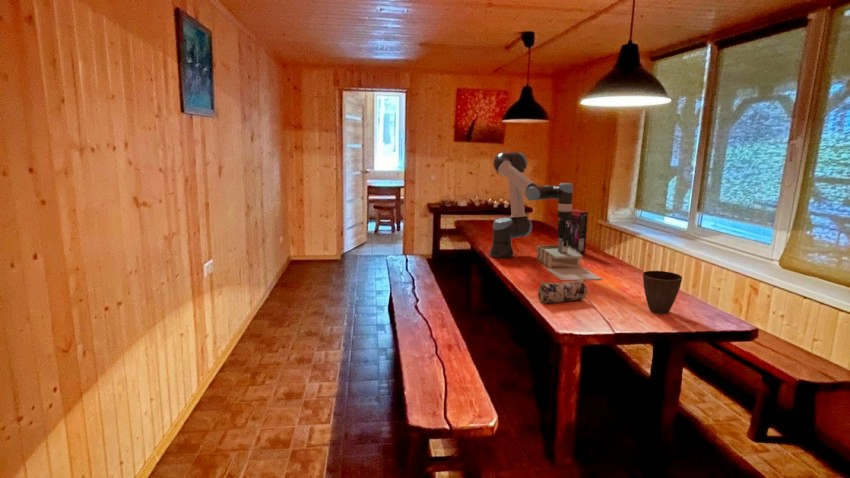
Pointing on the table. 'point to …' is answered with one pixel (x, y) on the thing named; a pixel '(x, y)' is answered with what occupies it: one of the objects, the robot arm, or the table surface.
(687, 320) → the table surface
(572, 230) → the graphics card box
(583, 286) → the pencil case
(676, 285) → the plant pot
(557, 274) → the grey tray
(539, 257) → the wooden box
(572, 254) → the sliding lid
